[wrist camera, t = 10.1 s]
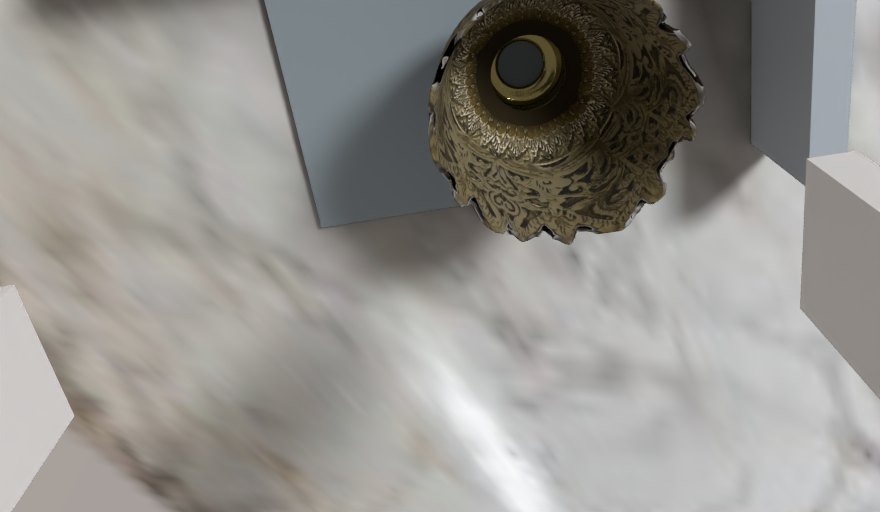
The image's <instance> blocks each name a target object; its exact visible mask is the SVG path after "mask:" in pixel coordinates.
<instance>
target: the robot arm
mask: <svg viewBox="0 0 880 512" xmlns="http://www.w3.org/2000/svg"><path fill="white" fill-rule="evenodd" d="M800 309H801V310H802V311H803V312H804V313H805V314H806V315H807V317H808V318H809V319H810V320H811V321H812V322H813V323H814V325H815V326H816V327H817V328H818V329H819V330H820V331H821V333H822V334H823V335H824V336H825V337H826V338H827V339H828V341H829V342H830V343H831V344H832V345H833V346H834V347H835V349H836V350H837V351H838V352H839V353H840V354H841V355H842V357H843V358H844V359H845V360H846V361H847V362H848V363H849V365H850V366H851V367H852V368H853V369H854V370H855V371H856V373H857V374H858V375H859V376H860V377H861V378H862V380H863V381H864V382H865V383H866V384H867V385H868V386H869V388H870V389H871V390H872V391H873V392H874V393H875V394H876V396H877V397H878V398H879V399H880V166H879V165H878V164H876V163H874V162H873V161H871V160H870V159H868V158H866V157H865V156H863V155H862V154H860V153H859V152H857V151H851V152H845V153H838V154H832V155H826V156H820V157H813V158H807V159H806V183H805V206H804V229H803V252H802V276H801V299H800ZM73 417H74V414H73V412H72V410H71V408H70V405H69V403H68V401H67V399H66V397H65V395H64V392H63V390H62V388H61V386H60V384H59V382H58V379H57V377H56V375H55V373H54V371H53V369H52V366H51V364H50V362H49V360H48V358H47V356H46V353H45V351H44V349H43V347H42V345H41V343H40V340H39V338H38V336H37V334H36V332H35V329H34V327H33V325H32V323H31V321H30V319H29V316H28V314H27V312H26V310H25V308H24V306H23V303H22V301H21V299H20V297H19V295H18V293H17V290H16V288H15V286H14V285H10V286H4V287H0V512H12V510H13V508H14V507H15V506H16V504H17V502H18V501H19V499H20V498H21V496H22V495H23V493H24V492H25V490H26V489H27V487H28V486H29V484H30V482H31V481H32V479H33V478H34V477H35V475H36V474H37V472H38V470H39V469H40V467H41V466H42V464H43V463H44V461H45V460H46V458H47V457H48V455H49V454H50V452H51V451H52V449H53V448H54V446H55V445H56V443H57V442H58V440H59V438H60V437H61V435H62V434H63V432H64V431H65V429H66V428H67V426H68V425H69V423H70V422H71V420H72V419H73Z"/></svg>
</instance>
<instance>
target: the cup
mask: <svg viewBox="0 0 880 512" xmlns="http://www.w3.org/2000/svg"><path fill="white" fill-rule="evenodd" d="M665 19H666V15H665V14H664V13H663V9H662V7H661V5H660V4H658V3H657V2H656V1H654V0H482V1H480V2H479V3H478V4H477V5H476V6H474V7H473V8H472V9H471V10H470V11H469V12H468V13H467V14H466V15H465V16H464V18H463V19H462V20H461V21H460V22H459V24H458V25H457V27H456V28H455V29H454V31H453V33H452V34H451V36H450V38H449V40H448V42H447V43H446V46H445V48H444V50H443V53H442V55H441V58H440V61H439V64H438V68H437V71H436V74H435V78H434V81H433V82H432V85H431V89H430V95H429V104H428V112H429V127H428V135H429V146H430V151H431V155H432V159H433V161H434V163H435V165H436V167H437V169H438V170H439V172H440V173H441V174H443V175H444V176H445V178H446V179H447V180H448V181H449V183H450V186H451V192H452V195H453V198H454V199H455V201H456V203H457V204H458V205H459V206H460V207H461V208H462V207H463V206H468V205H470V204H471V203H472V205H473V207H474V210H475V211H476V213H477V215H478V217H479V218H480V220H481V221H482V222H483V223H484V224H485V225H486V226H487V227H488V228H489V229H491V230H492V231H494V232H496V233H503V234H504V232H505V231H507V232H508V234H512V235H514V236H515V237H516V238H517V239H518V240H520V241H521V242H525V241H528V240H530V239H532V238H533V237H539V236H540V235H541V233H542V231H545V232H547V234H549V235H550V236H551V237H552V239H555V240H558V241H561V242H562V243H564V244H568V245H570V244H571V243H572V242H573V240H574V238H575V235H576V233H577V232H583V231H589V232H593V233H595V234H602V233H609V232H615V231H621V230H623V229H625V228H626V227H627V226H628V225H629V224H630V223H631V221H632V220H633V218H634V217H635V215H636V214H637V213H639V212H640V210H641V208H642V207H643V206H644V204H645V203H647V204H654V203H656V202H657V201H659V200H660V199H661V198H662V197H663V196H664V195H665V192H666V187H667V185H666V183H665V182H664V181H663V180H662V175H661V171H662V170H663V168H664V166H665V165H666V164H667V163H668V162H669V161H671V160H673V158H674V155H675V148H676V147H677V144H678V143H679V142H683V141H684V140H688V141H693V140H694V138H695V136H696V133H697V130H696V125H695V123H694V121H693V119H692V118H691V117H692V116H693V114H694V113H696V112H697V111H698V109H699V108H700V107H701V106H703V104H704V101H705V94H704V88H703V84H702V82H701V80H700V79H699V77H698V75H697V74H696V72H695V71H694V70H693V68H692V67H691V66H690V64H689V63H688V61H687V59H686V56H685V54H684V53H685V52H687V51H689V50H690V47H691V46H692V45H691V43H690V41H689V40H688V39H687V38H686V37H685V36H684V35H683V34H682V33H681V31H680V30H679V29H675V28H672V27H670V26H669V25H667V24H665V23H664V21H665ZM518 41H525V42H529V43H531V44H533V45H535V46H536V47H537V48H538V49H539V51H540V52H541V55H542V58H543V68H542V71H541V74H540V75H539V77H538V78H537V79H536V80H535V81H534V82H533V83H531V84H530V85H527V86H524V87H515V86H511V85H509V84H508V83H506V82H505V81H504V80H503V79H502V77H501V76H500V73H499V70H498V61H499V57H500V55H501V53H502V51H503V50H504V49H505V48H506V47H507V46H508V45H510V44H512V43H514V42H518Z"/></svg>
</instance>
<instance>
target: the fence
mask: <svg viewBox="0 0 880 512" xmlns="http://www.w3.org/2000/svg"><path fill="white" fill-rule="evenodd" d="M856 2H857V0H752V39H751V144H752V145H753V146H755V147H756V148H757V149H759V150H760V151H761V152H762V153H764V154H765V155H766V156H767V157H769V158H770V159H771V160H773V161H774V162H775V163H776V164H778V165H779V166H780V167H781V168H783V169H784V170H785V171H787V172H788V173H789V174H790V175H792V176H793V177H794V178H795V179H797V180H798V181H799V182H801V183H802V184H803V185H804V186H805V183H806V159H807V158H813V157H820V156H826V155H832V154H838V153H845V152H847V150H848V133H849V117H850V100H851V84H852V67H853V51H854V34H855V18H856Z"/></svg>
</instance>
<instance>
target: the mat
mask: <svg viewBox="0 0 880 512" xmlns="http://www.w3.org/2000/svg"><path fill="white" fill-rule="evenodd" d="M264 1H265V5H266V9H267V13H268V17H269V21H270V25H271V29H272V33H273V37H274V41H275V45H276V49H277V53H278V57H279V61H280V65H281V69H282V73H283V77H284V81H285V85H286V89H287V93H288V97H289V101H290V105H291V109H292V112H293V116H294V120H295V124H296V128H297V132H298V136H299V140H300V144H301V148H302V152H303V156H304V160H305V164H306V168H307V172H308V176H309V180H310V184H311V188H312V192H313V196H314V200H315V204H316V208H317V212H318V216H319V220H320V224H321V228H324V227H331V226H337V225H343V224H350V223H356V222H362V221H368V220H375V219H381V218H387V217H393V216H400V215H406V214H412V213H419V212H425V211H431V210H437V209H444V208H450V207H456V206H459V205H458V204H457V203H456V201H455V199H454V198H453V195H452V192H451V186H450V183H449V181H448V180H447V179H446V178H445V176H444V175H443V174H441V173H440V172H439V170H438V169H437V167H436V165H435V163H434V161H433V159H432V155H431V151H430V146H429V135H428V127H429V112H428V104H429V95H430V89H431V85H432V82H433V81H434V78H435V74H436V71H437V68H438V64H439V61H440V58H441V55H442V53H443V50H444V48H445V46H446V43H447V42H448V40H449V38H450V36H451V34H452V33H453V31H454V29H455V28H456V27H457V25H458V24H459V22H460V21H461V20H462V19H463V18H464V16H465V15H466V14H467V13H468V12H469V11H470V10H471V9H472V8H473V7H474V6H476V5H477V4H478V3H479V2H480V1H482V0H264ZM542 68H543V58H542V55H541V52H540V51H539V49H538V48H537V47H536V46H535V45H533V44H531V43H529V42H525V41H518V42H514V43H512V44H510V45H508V46H507V47H506V48H505V49H504V50H503V51H502V53H501V55H500V57H499V61H498V70H499V73H500V76H501V77H502V79H503V80H504V81H505V82H506V83H508V84H509V85H511V86H515V87H524V86H527V85H530V84H531V83H533V82H534V81H535V80H536V79H537V78H538V77H539V75H540V74H541V71H542ZM471 204H472V203H471Z"/></svg>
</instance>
